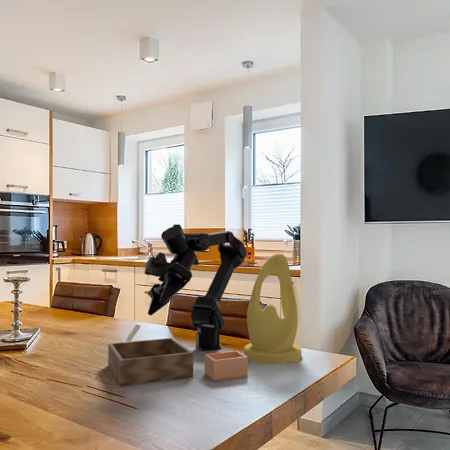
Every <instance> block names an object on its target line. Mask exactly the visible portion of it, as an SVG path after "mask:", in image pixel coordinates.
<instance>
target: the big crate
mask: <svg viewBox="0 0 450 450" xmlns="http://www.w3.org/2000/svg"><path fill="white" fill-rule="evenodd" d="M107 353H108V355H107V359H108V361H107V362H108V363H107V365H108V368H109V370H110V372H111V373H112V375H113V377H114V379H115V381H116V383H117V384H118V386H119V387H128V386H136V385H143V384H149V383H157V382H158V383H159V382H165V381H174V380H181V379H182V380H183V379H190V378H194V352H193V351H192V350H191V349H189V348H187V347H186V346H184V344H182V343H180V342H179V341H178V340H176V339H175V338H174V337H165V338H157V339H156V338H154V339H144V340H143V339H142V340H133V341H132V340H131V342H124V341H121V342H112V343H111V342H110V343H107Z"/></svg>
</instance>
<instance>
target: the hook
mask: <svg viewBox="0 0 450 450" xmlns="http://www.w3.org/2000/svg"><path fill="white" fill-rule="evenodd" d="M141 327H142V324H141V323H140V322H136V323H135V325H134V326H133V328H131V331H130V332H129V333H128V334H127V336H126V337H125V338H124V340H123V342H131V341H132V340H133V339H134V337H135V336H136V334H137V333H138V332H139V330H140V328H141Z"/></svg>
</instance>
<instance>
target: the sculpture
mask: <svg viewBox="0 0 450 450" xmlns="http://www.w3.org/2000/svg"><path fill="white" fill-rule="evenodd" d="M291 274H292V273H291V270H290V266H289V263H288V259H287V257H286V256H285V255H284V254H283V253H275V254H272V255H271V256H269V257H268V259H267V260H266V261H265V262H264V264H263V265H262V267H261V269H260V271H259V272H258V275H257V276H256V279H255V281H254V284H253V287H252V290H251V294H250V299H249V303H248V305H247V311H246V323H247V325H246V326H247V331H248V337H249V341H250V343H248V344H246V345H244V347H243V348H244V349H243V350H244V351H243V354H244V355H245V356H247V357H248V361H251V362H255V363H259V364H269V365H270V364H271V365H275V364H276V365H281V364H283V363H284V364H290V363H291V362H292V363H295V361H296V362H297V360H298V361H300V360H301V359H302V347H300V345H298V344H296V343H295V340H296V337H297V336H296V335H297V331H298V327H299V326H298V323H299V322H298V321H299V319H298V318H299V317H298V307H297V299H296V296H295V295H296V294H295V291H294V287H293V281H292V279H293V278H292V275H291ZM270 275H271V276H272V275H274V276H276V277H277V279H278V280H279V287H280V289H279V290H280V300H281V301H280V302H281V309H282V314H283V318H282V317H280V316H279V314H278V311H277V307H275V306H274V305H273V304H266V306H265V307H263V309H262V308H261V304H260V303H261V293H262V292H261V291H262V287H263V283H264V281H265V279H266V278H268V277H269V276H270ZM299 359H300V360H299ZM292 363H291V364H292Z"/></svg>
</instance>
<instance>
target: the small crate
mask: <svg viewBox="0 0 450 450" xmlns="http://www.w3.org/2000/svg"><path fill="white" fill-rule="evenodd" d="M248 362H249V359H248V357H247V356H245V355H244V353H241V352H240V351H239V350H232V351H222V352H213V353H212V352H211V353H205V354H204V375H205V376H207V377H208V378H209V379H210V380H211V381H212V382H222V381H228V380H229V381H230V380H237V379H243V378H249V377H248V374H249V373H248V371H249V369H248V368H249V367H248V366H249V365H248V364H249V363H248Z"/></svg>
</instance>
